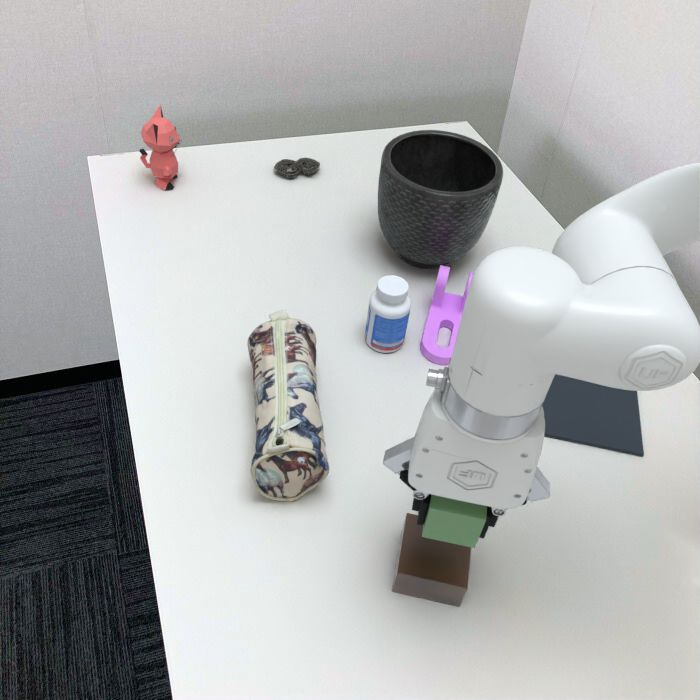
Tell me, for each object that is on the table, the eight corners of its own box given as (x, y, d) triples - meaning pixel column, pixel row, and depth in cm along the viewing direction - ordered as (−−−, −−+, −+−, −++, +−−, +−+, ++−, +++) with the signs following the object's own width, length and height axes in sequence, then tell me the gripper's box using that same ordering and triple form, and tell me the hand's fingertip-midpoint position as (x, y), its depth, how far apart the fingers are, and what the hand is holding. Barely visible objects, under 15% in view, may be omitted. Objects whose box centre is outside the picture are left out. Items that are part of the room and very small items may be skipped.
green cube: (478, 503, 72) (489, 473, 68) (475, 548, 68) (486, 520, 65) (428, 492, 72) (436, 462, 68) (421, 537, 69) (429, 508, 65)
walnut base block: (465, 546, 79) (473, 526, 76) (459, 607, 74) (467, 589, 71) (401, 532, 80) (406, 512, 77) (391, 591, 75) (396, 573, 72)
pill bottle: (411, 345, 100) (423, 291, 93) (379, 359, 97) (389, 305, 90) (388, 320, 102) (397, 266, 95) (356, 333, 100) (363, 279, 93)
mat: (631, 354, 102) (632, 351, 102) (642, 456, 90) (644, 454, 90) (503, 328, 104) (504, 325, 103) (496, 426, 91) (497, 423, 91)
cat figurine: (181, 195, 118) (175, 127, 110) (138, 191, 118) (128, 123, 109) (188, 171, 123) (183, 104, 115) (147, 167, 123) (138, 100, 114)
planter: (466, 300, 107) (491, 209, 96) (354, 268, 110) (366, 175, 98) (488, 234, 119) (513, 146, 107) (387, 207, 121) (401, 118, 110)
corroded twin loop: (323, 176, 126) (324, 171, 125) (278, 181, 123) (278, 175, 123) (315, 160, 129) (315, 155, 128) (270, 165, 127) (270, 159, 126)
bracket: (433, 297, 107) (441, 259, 102) (470, 305, 106) (481, 268, 101) (417, 359, 98) (425, 321, 93) (458, 369, 97) (469, 331, 92)
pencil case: (327, 503, 81) (334, 451, 74) (250, 506, 80) (249, 453, 73) (313, 358, 96) (317, 303, 89) (247, 359, 95) (246, 304, 88)
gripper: (376, 409, 55) (356, 534, 68) (606, 455, 54) (540, 573, 67) (391, 339, 60) (370, 468, 73) (601, 380, 59) (541, 503, 72)
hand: (451, 517), depth 70 cm, fingers closed on green cube, 5 cm apart
